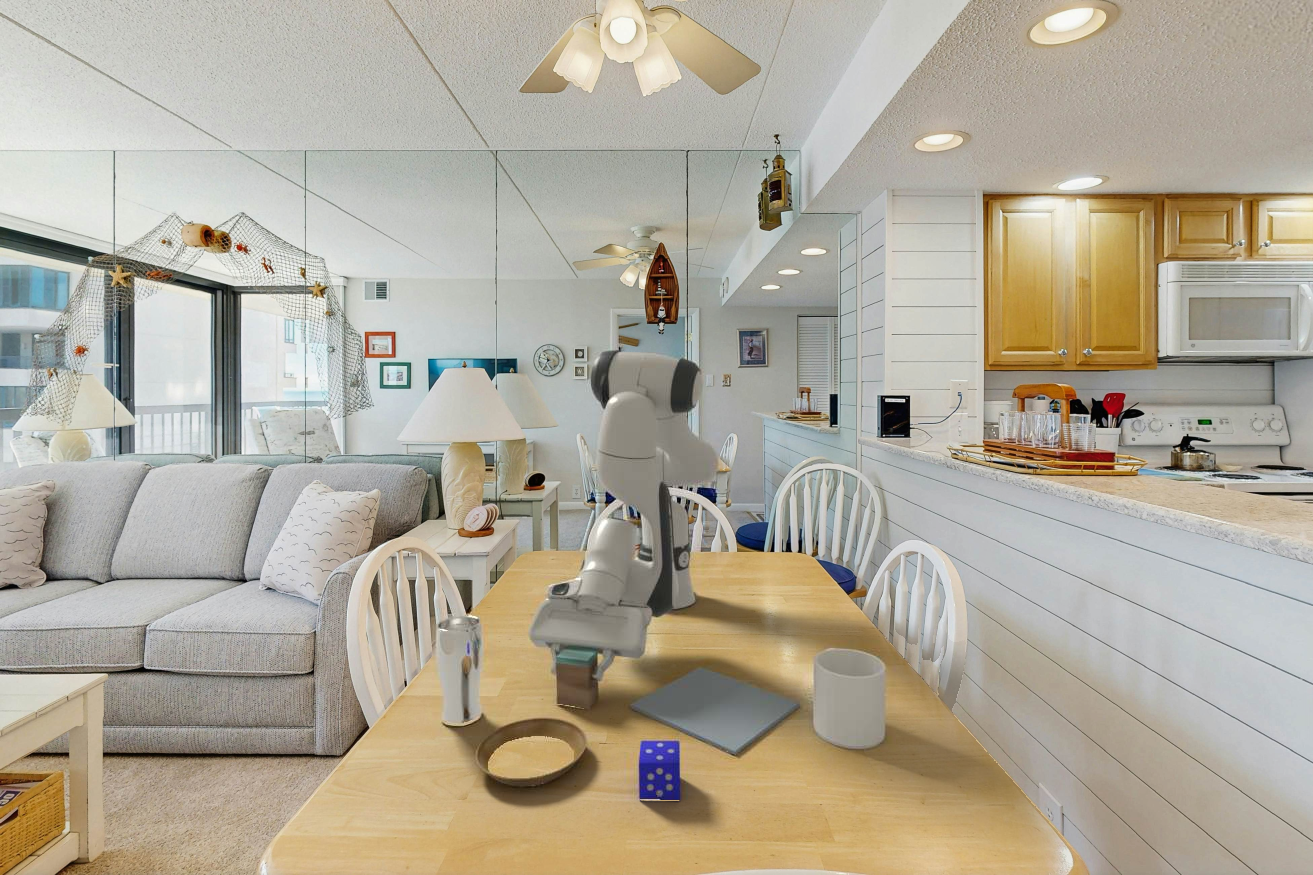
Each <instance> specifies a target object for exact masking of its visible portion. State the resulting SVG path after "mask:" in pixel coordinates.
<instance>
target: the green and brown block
mask: <svg viewBox="0 0 1313 875" xmlns="http://www.w3.org/2000/svg"><path fill="white" fill-rule="evenodd" d="M598 655H599V654H598V652H597V651H596V650H587V649H578V648H570V647H566V648H565V649H564V650H563V651H562V652H561V653H560V654H559V655H558V656H556V675H555V677H556V705H557V704H563V705H569V706H575V707H580V708H584V709H583V710H585V709H589V708H590V707H591V706H592V707H593V705H594V704H595V703H596V702H597V701H596V700H598V699H599V681H596V680H592V679H591V677H590V675H591V672H592V667H593V666H598V665H599V664H598V663H599V661H598V660H599V659H598V658H599V657H598ZM595 701H596V702H595ZM594 702H595V703H594ZM592 707H591V708H592ZM591 708H590V709H591ZM590 709H589V710H590Z"/></svg>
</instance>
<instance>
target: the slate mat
mask: <svg viewBox="0 0 1313 875" xmlns="http://www.w3.org/2000/svg"><path fill="white" fill-rule="evenodd" d="M629 707H630V709H631V710H633V711H636V712H637V713H640V714H641V715H644V716H646V715H647V717H648V718H651V719H652V720H655V721H657V720H658V721H657V722H660V723H662V724H665V725H667V726H668V725H669V727H671V728H673V729H674V730H675V729H676V730H678V731H679V732H682V733H684V734H687V735H688V736H690V735H691V736H690V737H692V736H693V738H695V739H697V738H698V739H697V740H699V739H700V740H699V741H701V740H702V742H703V741H705V742H704V743H706V742H707V743H706V744H708V743H710V744H712V745H714V746H716V747H715V748H717V747H718V748H717V749H719V748H721V749H723V750H725V751H728V752H729V753H728V752H727V753H728V754H730V753H731V754H730V755H732V754H734V755H735V756H737V755H738V754H739V753H741V752H742V751H743V750H744V749H746V748H747V747H748V746H749V745H751V744H752V743H753V742H755V741H756V740H757V739H759V738H760V737H761V736H763V735H764V734H766V732H768V731H769V730H771V729H772V728H773V727H774V726H776V725H777V724H779V723H780V722H781V721H782V720H783V719H785V718H786V717H788V716H789V715H790V714H792V713H793V712H794V711H795V710H797V709H798V708H799V707H801V702H799V701H798V700H795V699H791V698H789V697H785V696H783V695H780V694H777V693H774V692H772V691H768V690H767V689H764V688H761V687H758V686H755V685H752V684H750V683H747V682H744V681H741V680H737V679H735V678H733V677H729V676H727V675H724V674H721V673H718V672H715V671H713V670H710V669H708V668H707V669H706V668H704V667H701V666H699V667H697V668H696V669H693V670H692V671H690V672H688V673H686V674H685V675H683V676H681V677H678V678H677V679H675V680H673V681H672V682H670V683H667V684H666V685H663V686H662V687H661V688H658V689H657V690H655V691H653V692H651V693H649V694H647V695H646V696H643V697H642V698H640V699H638V700H636V701H634V702H633V703H630V705H629ZM710 744H709V745H710ZM712 745H711V746H712ZM714 746H713V747H714ZM745 747H746V748H745ZM721 749H720V750H721ZM742 749H743V750H742ZM723 750H722V751H723ZM741 750H742V751H741ZM725 751H724V752H725ZM738 752H739V753H738ZM737 753H738V754H737ZM734 755H733V756H734Z"/></svg>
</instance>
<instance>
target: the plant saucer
mask: <svg viewBox="0 0 1313 875" xmlns="http://www.w3.org/2000/svg"><path fill="white" fill-rule="evenodd" d="M531 736H545V737H546V736H547V737H552V738H557V739H560V740H563V741H565V742H566V743H568V744H569V746H570V747H571V748H572V749H573V750H574V760H573V762H571V763H570V764H568V765H567V766H565V767H563V768H561V769H559V770H557V771H554V772H552V773H549V774H545V775H542V776H537V777H530V778H507V777H501V776H497V775H494V774H492V773H490V772H489V770H488V761H489V759H490V757H491V755H492V754H493V753H494V751H495V750H496V749H497V748H499V747H500V746H501V745H503V744H504V743H506V742H508V741H512V740H515V739H519V738H523V737H531ZM587 739H588V738H587V736H586V733H585V732H584V731H583V729H582V728H581V727H579V726H578V725H577V724H575V723H574V722H571V721H568V720H565V719H562V718H555V717H532V718H525V719H521V720H516V721H513V722H511V723H508V724H505V725H503V726H501V727H498V728H497V729H495V730H493V731H491V732H490V733H489V734H487V735H486V736H485V737H484V738H483V739H482V740H481V741H480V743H478V746H477V748H476V751H475V762H476V764H477V765H478V767H479V768H480V769H481V770H482V771H483V772H484V773H485V774H486V775H488V776H489V777H490V778H492V779H493V780H495V781H496V782H499V783H501V784H503V783H504V784H503V785H505V784H508V785H507V786H509V785H512V786H511V787H514V786H532V785H538V784H542V783H545V784H547V783H546V782H548V783H550V782H549V781H551V780H553V781H555V780H556V778H557V779H558V777H559V776H560V777H562V776H563V775H564V774H566V773H565V772H568V771H569V770H570V769H571V768H572V767H574V765H575V764H576V763H577V761H579V759H580V758H581V757H582V755H583V753H584V752H585V749H586V747H587V743H588V740H587ZM561 775H562V776H561ZM560 777H559V778H560ZM554 779H555V780H554ZM551 782H552V781H551ZM542 785H543V784H542ZM538 786H539V785H538ZM532 787H533V786H532Z"/></svg>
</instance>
